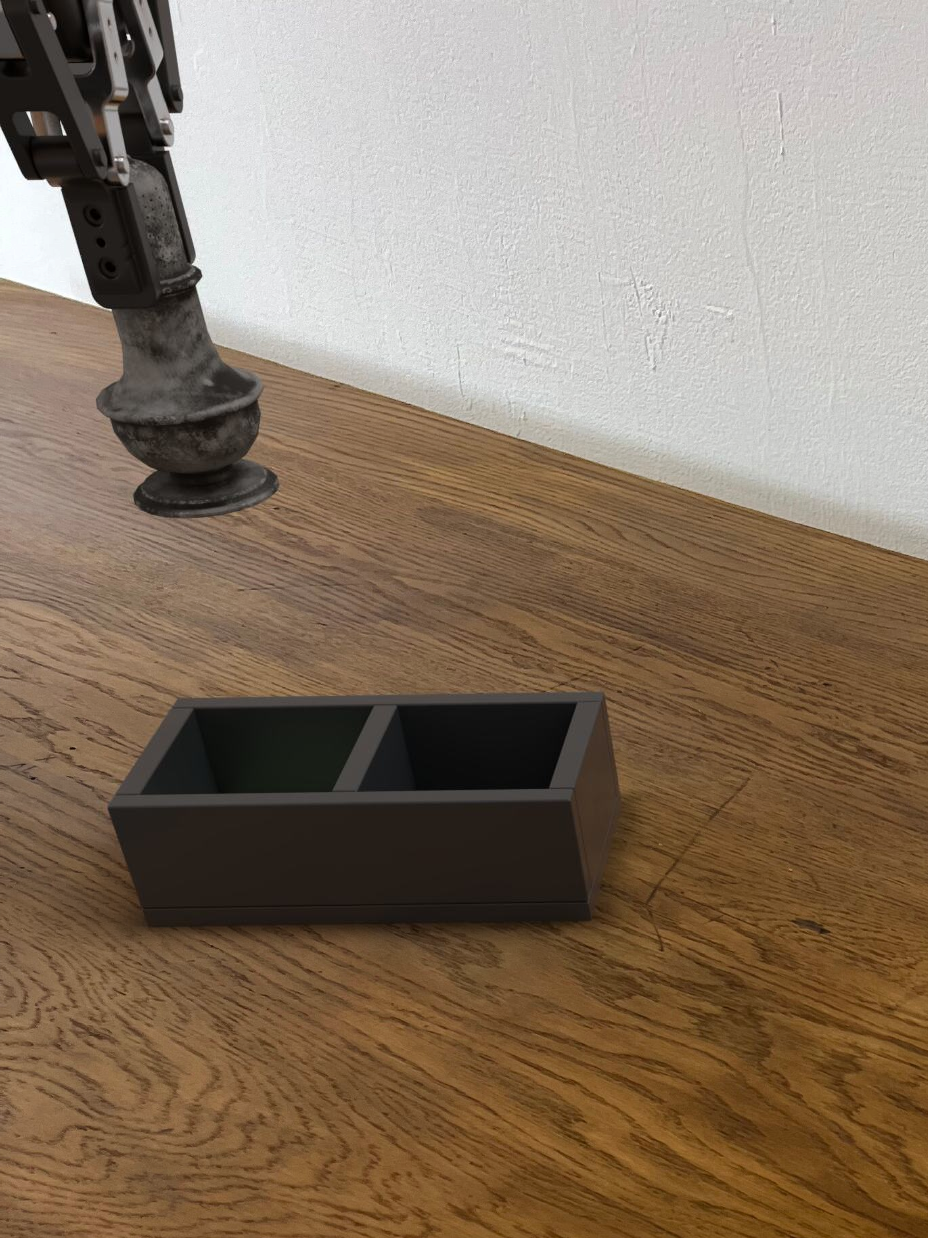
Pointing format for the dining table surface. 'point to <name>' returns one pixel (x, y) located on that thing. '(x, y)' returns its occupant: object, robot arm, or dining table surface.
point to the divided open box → (372, 810)
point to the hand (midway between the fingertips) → (147, 284)
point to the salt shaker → (182, 387)
